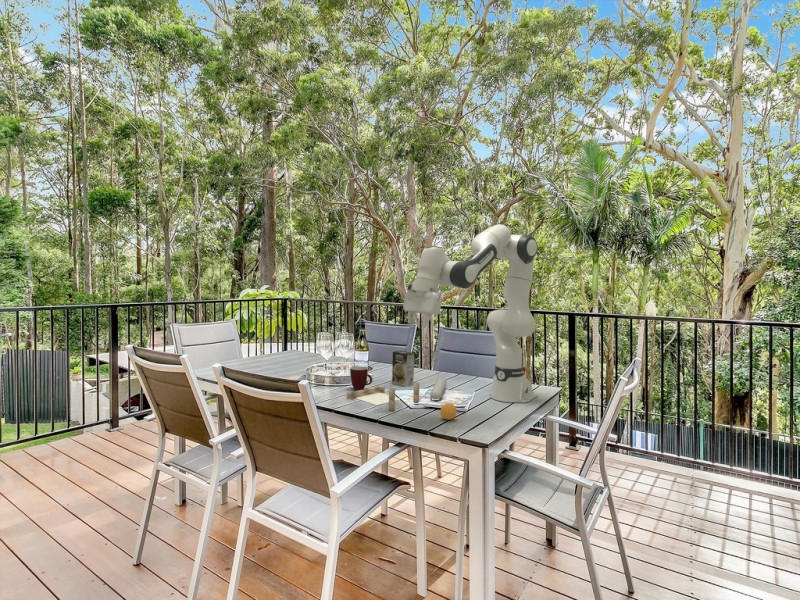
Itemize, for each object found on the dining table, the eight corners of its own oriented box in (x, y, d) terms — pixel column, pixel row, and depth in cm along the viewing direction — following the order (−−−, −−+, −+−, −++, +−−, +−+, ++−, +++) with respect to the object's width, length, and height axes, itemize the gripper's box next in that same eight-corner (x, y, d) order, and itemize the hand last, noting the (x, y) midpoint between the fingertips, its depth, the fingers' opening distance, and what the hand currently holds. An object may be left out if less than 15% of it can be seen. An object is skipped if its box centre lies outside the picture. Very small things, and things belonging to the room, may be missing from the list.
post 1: (391, 409, 184) (392, 386, 183) (396, 410, 182) (396, 388, 182) (387, 410, 182) (387, 387, 182) (391, 411, 181) (391, 389, 180)
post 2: (416, 402, 194) (416, 381, 193) (420, 404, 192) (420, 382, 191) (412, 403, 192) (412, 382, 191) (416, 405, 190) (416, 383, 190)
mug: (374, 388, 217) (374, 367, 216) (370, 392, 209) (370, 370, 208) (352, 386, 219) (353, 366, 218) (347, 391, 211) (348, 369, 210)
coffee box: (391, 384, 226) (392, 351, 225) (399, 381, 231) (400, 350, 230) (405, 387, 220) (406, 353, 219) (414, 385, 225) (414, 352, 224)
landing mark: (379, 393, 208) (379, 392, 208) (401, 399, 198) (401, 399, 198) (355, 398, 199) (355, 397, 199) (376, 405, 189) (376, 405, 189)
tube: (443, 393, 195) (448, 380, 220) (431, 388, 196) (437, 375, 221) (438, 405, 196) (444, 390, 221) (427, 400, 197) (433, 386, 221)
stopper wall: (381, 391, 212) (381, 385, 212) (384, 392, 211) (384, 386, 210) (346, 398, 198) (347, 392, 198) (349, 399, 197) (349, 393, 197)
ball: (447, 415, 177) (447, 400, 176) (459, 419, 172) (460, 403, 172) (436, 419, 172) (437, 403, 172) (449, 423, 168) (449, 406, 168)
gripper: (448, 291, 162) (440, 329, 161) (418, 289, 180) (410, 324, 179) (434, 286, 159) (425, 325, 158) (404, 285, 177) (396, 320, 176)
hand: (417, 324), depth 169 cm, fingers open, 8 cm apart
